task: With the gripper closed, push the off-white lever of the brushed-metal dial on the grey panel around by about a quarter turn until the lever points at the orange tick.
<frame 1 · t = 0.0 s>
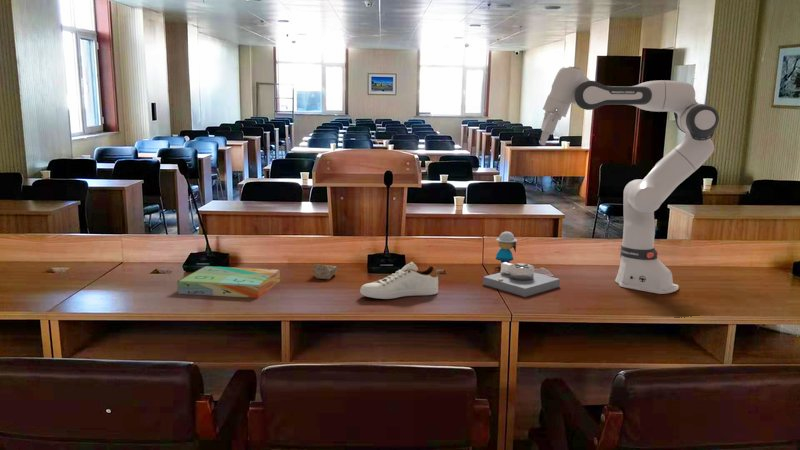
hand: (541, 144, 236), 52 cm above the table, fingers open, 8 cm apart
box: (230, 288, 231), on the table
Shoe: (398, 295, 223), on the table
rock: (325, 277, 246), on the table
panel: (520, 285, 235), on the table
dial: (516, 269, 236), point 6 cm above the table, hinge at 0.0°
toy: (505, 267, 262), on the table
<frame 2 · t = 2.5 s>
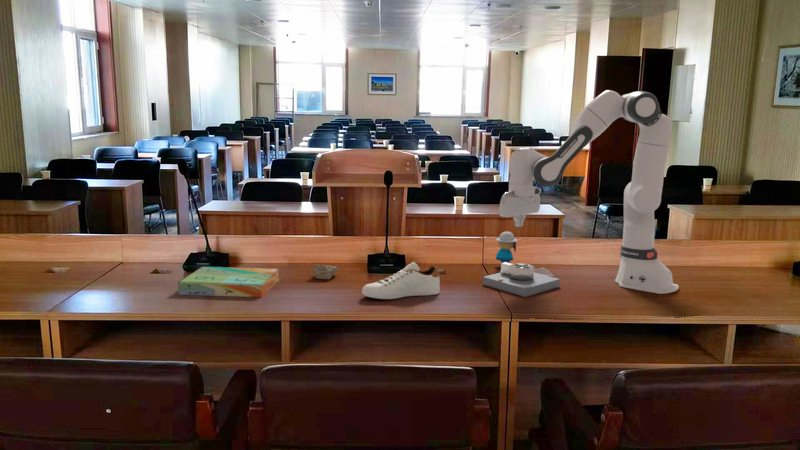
hand: (518, 226, 240), 21 cm above the table, fingers closed
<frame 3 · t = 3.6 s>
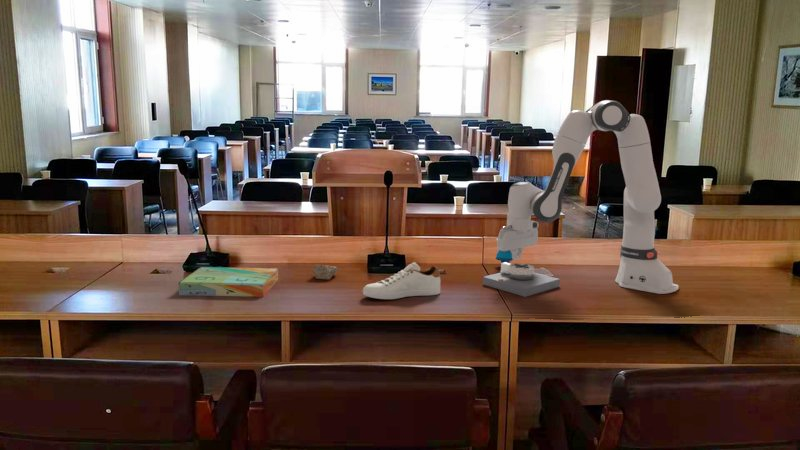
hand: (516, 259, 243), 8 cm above the table, fingers closed
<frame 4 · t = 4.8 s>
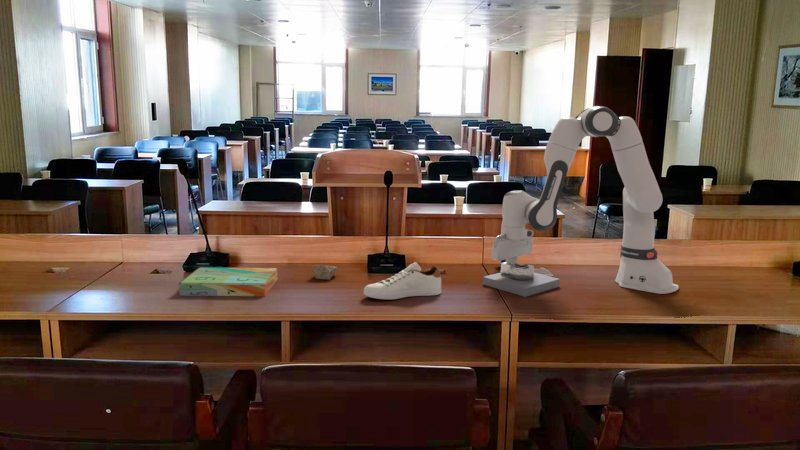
hand: (511, 268, 241), 5 cm above the table, fingers closed
dial: (516, 269, 236), point 6 cm above the table, hinge at 0.0°, touching gripper
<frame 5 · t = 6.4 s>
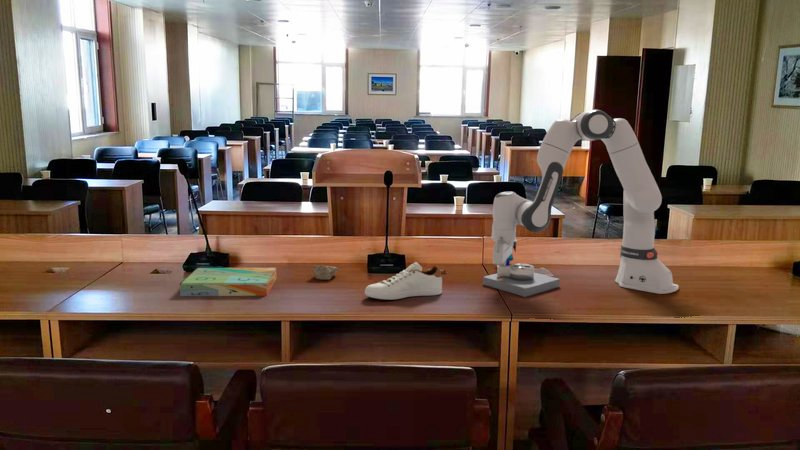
hand: (502, 270, 238), 5 cm above the table, fingers closed
dial: (515, 270, 234), point 6 cm above the table, hinge at 41.1°, touching gripper
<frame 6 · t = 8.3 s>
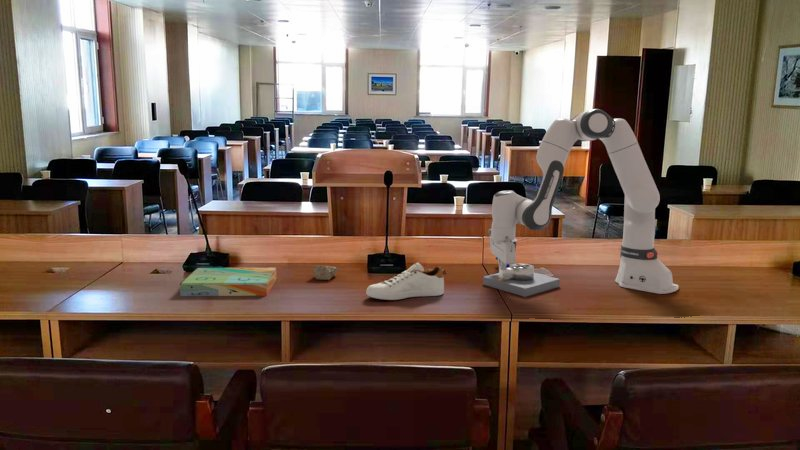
hand: (502, 270, 236), 5 cm above the table, fingers closed
dial: (516, 271, 233), point 6 cm above the table, hinge at 72.2°
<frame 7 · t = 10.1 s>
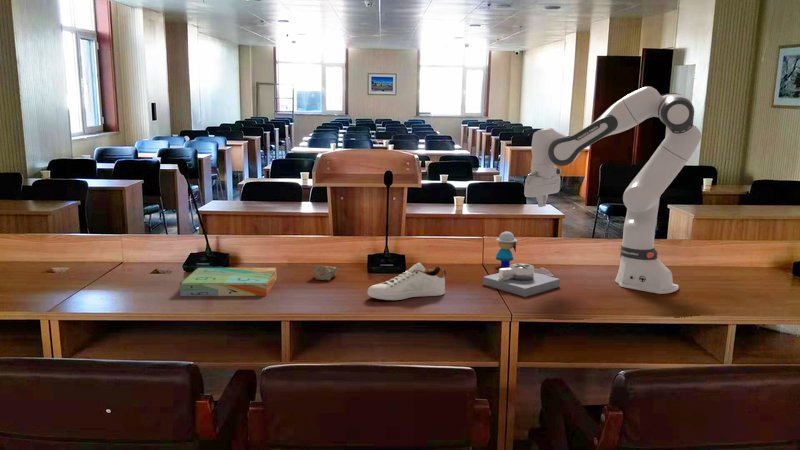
hand: (541, 206, 244), 28 cm above the table, fingers closed
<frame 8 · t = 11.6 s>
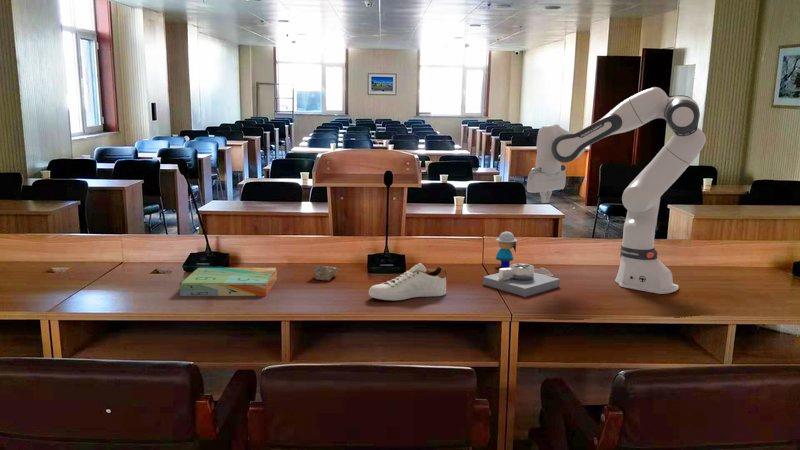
hand: (545, 202, 245), 29 cm above the table, fingers closed
at the end: dial at +72° (first picture: +0°) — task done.
